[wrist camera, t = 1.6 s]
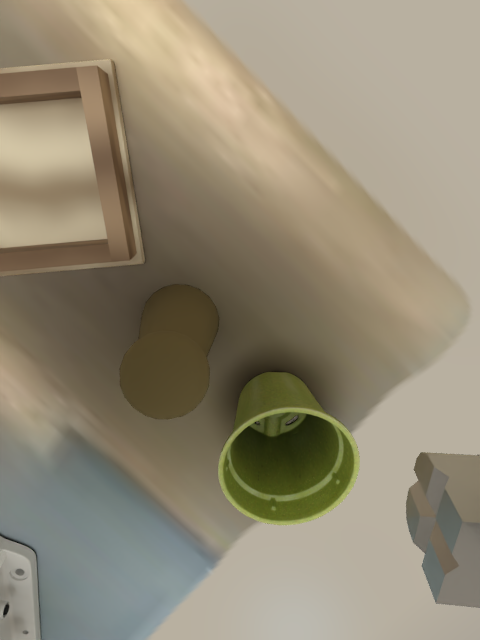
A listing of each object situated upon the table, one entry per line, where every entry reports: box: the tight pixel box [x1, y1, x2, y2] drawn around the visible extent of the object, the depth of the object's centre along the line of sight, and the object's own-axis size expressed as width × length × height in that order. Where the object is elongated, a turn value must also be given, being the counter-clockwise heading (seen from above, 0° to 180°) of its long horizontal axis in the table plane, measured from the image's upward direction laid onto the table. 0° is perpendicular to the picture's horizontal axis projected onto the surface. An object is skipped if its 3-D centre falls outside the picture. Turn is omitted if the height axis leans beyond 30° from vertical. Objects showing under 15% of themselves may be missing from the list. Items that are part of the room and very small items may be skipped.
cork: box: [120, 284, 219, 419], centre depth 29 cm, size 6×6×11 cm
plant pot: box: [218, 372, 360, 525], centre depth 33 cm, size 9×9×9 cm
